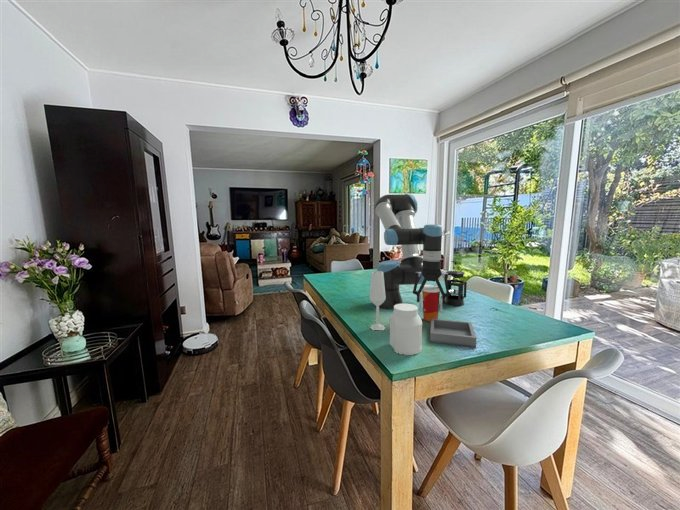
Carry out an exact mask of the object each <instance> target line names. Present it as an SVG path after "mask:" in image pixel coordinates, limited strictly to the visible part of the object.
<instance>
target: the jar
mask: <svg viewBox="0 0 680 510" xmlns="http://www.w3.org/2000/svg"><path fill="white" fill-rule="evenodd" d="M422 331H423V321H422V318H421V317H420V315H419V306H417V305H415V304H412V303H403V302H402V304H396V305H394V308H393V313H392V314H391V315H390V317H389V346H390V345H391V347H392V348H393V351H394V353H395V352H396V353H395V354H398V353H399V354H398V355H402V354H404V355H403V356H414V354H415V355H417V354H420V353H421V352H422V351H423V346H422V343H423V341H422V340H423V337H422V336H423V332H422Z"/></svg>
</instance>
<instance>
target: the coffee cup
mask: <svg viewBox="0 0 680 510" xmlns="http://www.w3.org/2000/svg"><path fill="white" fill-rule="evenodd" d="M421 294H422V295H421V299H422V317H423V320H424V321H426V322H430V323H431V319H438V316H439V310H440V298H441V292H440V289H439V288H438V285H434V284H425V285H424V287H423V289H422V291H421Z"/></svg>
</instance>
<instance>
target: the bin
mask: <svg viewBox="0 0 680 510" xmlns="http://www.w3.org/2000/svg"><path fill="white" fill-rule="evenodd" d="M429 335H430V337H429V338H430V340H429V342H430V343H436V344H444V345H446V344H447V345H453V346H459V347H470V348H471V347H472V348H477V335H476V332H475V330H474V327H473V323H472V322H471V321H462V320H452V319H440V318H439V319H438V318H437V319H431V322H430V334H429Z"/></svg>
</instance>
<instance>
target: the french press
mask: <svg viewBox="0 0 680 510" xmlns="http://www.w3.org/2000/svg"><path fill="white" fill-rule="evenodd" d="M451 263H454V270H447V271H446V272H445V273H448V276H451V277H452V278H454V279H447V281H448V287H449V293H450V296H447V297H445V303H446V304H445V305H447V304H448V306H451V305H453V306H452V307H462V306H464V305H465V303H464V302H465V301H464V300H465V299H466V298H467V281H466V280H459V279H462V278H464V275H465V272H464V271H459V270H457V263H461V262H460V260H451ZM452 286H453V287H454V289H452ZM456 287H458V289H456ZM461 305H462V306H461Z"/></svg>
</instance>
